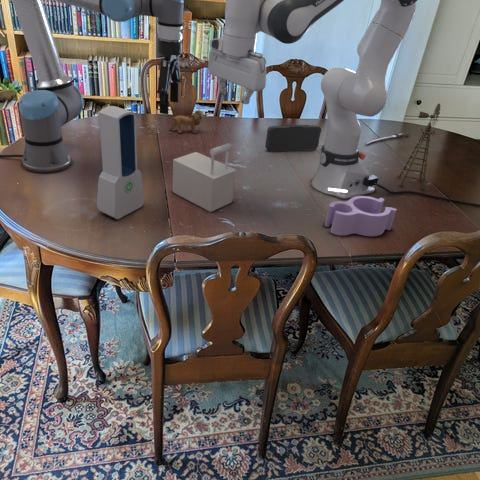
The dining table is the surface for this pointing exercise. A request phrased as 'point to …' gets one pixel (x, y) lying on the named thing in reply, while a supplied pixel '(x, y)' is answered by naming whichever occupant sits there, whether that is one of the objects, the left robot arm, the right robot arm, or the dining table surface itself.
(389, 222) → the clip
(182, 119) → the lion figurine
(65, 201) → the dining table surface
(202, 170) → the lid
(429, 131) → the miniature windmill
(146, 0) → the left robot arm
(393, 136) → the sword
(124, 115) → the electronic device
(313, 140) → the handheld gaming console
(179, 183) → the chest
